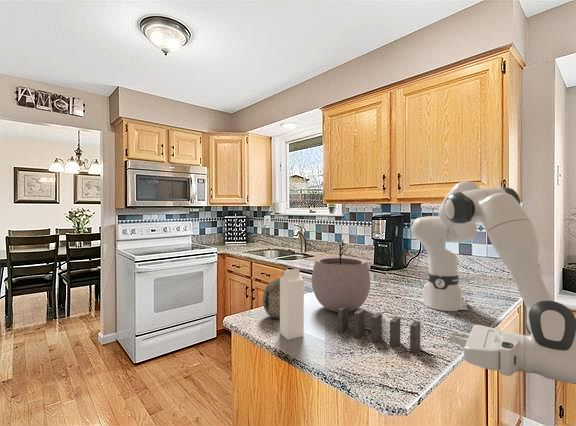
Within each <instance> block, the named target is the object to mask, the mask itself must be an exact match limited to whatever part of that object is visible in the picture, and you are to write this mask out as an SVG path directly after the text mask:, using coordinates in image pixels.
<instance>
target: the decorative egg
mask: <svg viewBox="0 0 576 426" xmlns="http://www.w3.org/2000/svg"><path fill="white" fill-rule="evenodd" d="M262 305H263V308H264V309H263V310H264V311H265V313H266V314H267V315H268V316H270V317H271V318H273V319H280V278H275V279H272V280H271V281H270V282H269V283H268V284H267V285H266V286H265V288H264V291H263V296H262Z"/></svg>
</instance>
